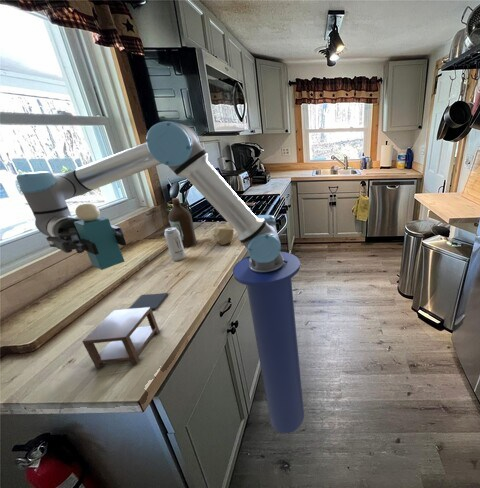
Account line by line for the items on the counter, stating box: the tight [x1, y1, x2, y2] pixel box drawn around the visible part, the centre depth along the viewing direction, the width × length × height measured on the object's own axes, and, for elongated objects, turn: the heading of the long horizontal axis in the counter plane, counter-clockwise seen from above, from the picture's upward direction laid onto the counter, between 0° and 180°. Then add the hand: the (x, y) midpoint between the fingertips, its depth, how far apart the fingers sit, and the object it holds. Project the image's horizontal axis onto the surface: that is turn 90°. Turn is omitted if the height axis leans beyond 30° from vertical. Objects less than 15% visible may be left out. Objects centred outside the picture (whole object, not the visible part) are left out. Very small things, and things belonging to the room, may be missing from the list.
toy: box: [74, 202, 125, 271], centre depth 65 cm, size 5×5×16 cm
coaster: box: [128, 292, 169, 311], centre depth 91 cm, size 9×9×1 cm
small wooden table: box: [82, 307, 160, 369], centre depth 70 cm, size 10×12×9 cm
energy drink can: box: [163, 226, 186, 262], centre depth 121 cm, size 6×6×15 cm
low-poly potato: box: [212, 224, 235, 246], centre depth 139 cm, size 15×11×12 cm
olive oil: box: [167, 197, 197, 248], centre depth 135 cm, size 11×11×25 cm
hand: (109, 244), depth 63 cm, fingers closed on toy, 5 cm apart
